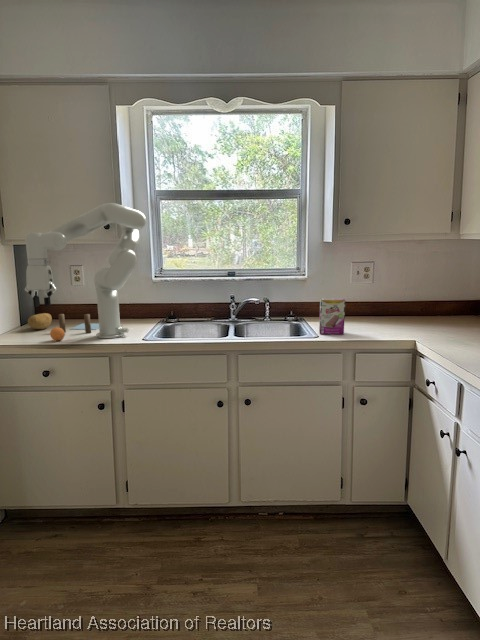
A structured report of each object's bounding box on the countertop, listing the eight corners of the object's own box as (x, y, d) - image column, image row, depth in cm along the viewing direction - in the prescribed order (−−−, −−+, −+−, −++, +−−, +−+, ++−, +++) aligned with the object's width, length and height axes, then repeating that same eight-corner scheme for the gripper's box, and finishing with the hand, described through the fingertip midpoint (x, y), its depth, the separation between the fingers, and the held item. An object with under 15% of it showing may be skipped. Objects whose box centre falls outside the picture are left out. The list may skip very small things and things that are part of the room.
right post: (92, 332, 212) (90, 314, 211) (89, 333, 210) (88, 315, 208) (87, 332, 213) (85, 314, 211) (84, 333, 210) (83, 315, 208)
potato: (58, 326, 228) (57, 311, 226) (41, 332, 214) (40, 316, 213) (41, 325, 229) (40, 310, 228) (24, 331, 216) (22, 315, 214)
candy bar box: (319, 334, 201) (320, 299, 198) (318, 332, 206) (319, 298, 203) (344, 335, 200) (345, 299, 197) (342, 332, 205) (344, 298, 202)
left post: (66, 331, 214) (65, 313, 212) (64, 333, 212) (62, 314, 210) (61, 331, 214) (60, 313, 213) (59, 332, 212) (57, 314, 210)
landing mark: (107, 324, 232) (107, 323, 232) (95, 329, 218) (95, 329, 218) (82, 323, 233) (82, 323, 233) (69, 329, 220) (69, 328, 220)
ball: (67, 339, 199) (66, 326, 198) (60, 342, 193) (59, 329, 192) (55, 338, 200) (54, 325, 199) (48, 341, 194) (46, 328, 193)
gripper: (61, 262, 183) (65, 305, 187) (24, 262, 185) (29, 304, 189) (51, 263, 176) (56, 308, 179) (13, 263, 178) (18, 307, 181)
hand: (42, 306), depth 184 cm, fingers open, 4 cm apart
